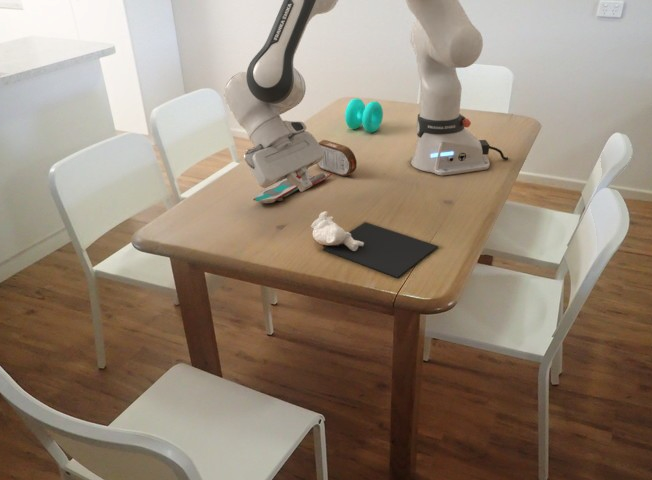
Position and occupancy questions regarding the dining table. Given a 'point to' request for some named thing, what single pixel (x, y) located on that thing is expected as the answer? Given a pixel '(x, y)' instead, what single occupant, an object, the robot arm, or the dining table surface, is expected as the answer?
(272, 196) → the toy spaceship
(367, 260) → the mat
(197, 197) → the dining table surface
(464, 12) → the robot arm
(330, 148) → the tin
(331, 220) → the white animal figurine
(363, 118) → the turquoise yo-yo
